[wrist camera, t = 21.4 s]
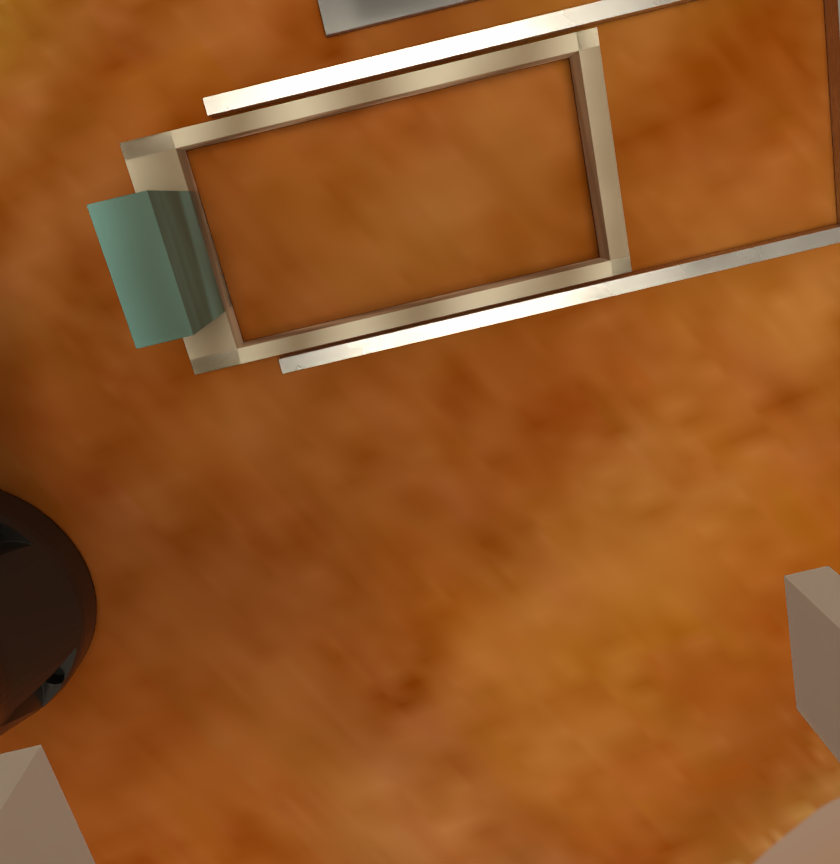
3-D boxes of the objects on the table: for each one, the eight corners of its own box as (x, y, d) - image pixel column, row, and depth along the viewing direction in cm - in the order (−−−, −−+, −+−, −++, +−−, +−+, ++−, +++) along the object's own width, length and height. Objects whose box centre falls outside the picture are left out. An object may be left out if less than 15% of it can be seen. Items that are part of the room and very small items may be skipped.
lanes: (285, 368, 43) (282, 373, 41) (208, 100, 38) (202, 98, 37) (853, 234, 42) (866, 236, 41) (837, -53, 38) (851, -61, 37)
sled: (203, 366, 42) (157, 410, 34) (132, 145, 39) (61, 132, 30) (620, 267, 42) (682, 286, 33) (586, 35, 38) (645, -11, 30)
